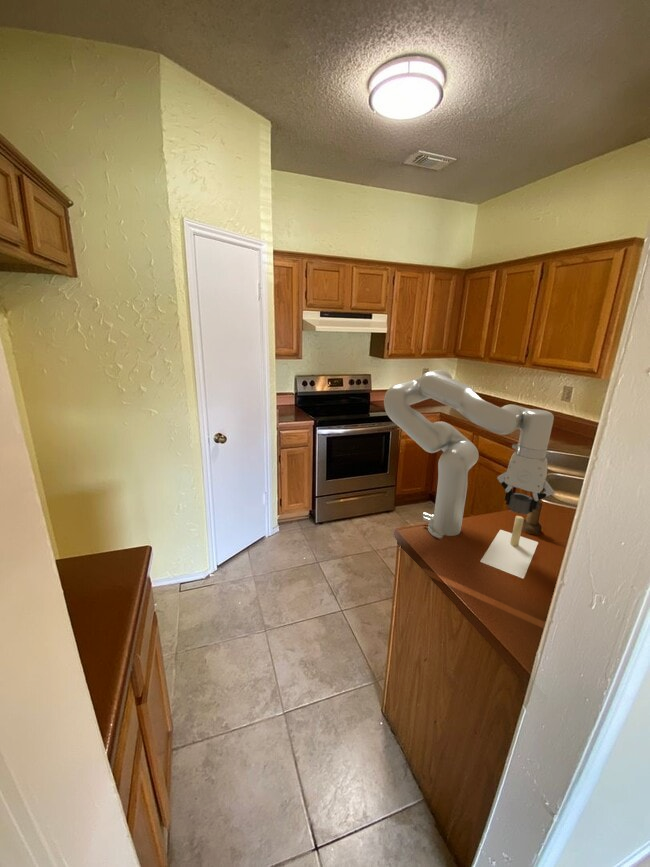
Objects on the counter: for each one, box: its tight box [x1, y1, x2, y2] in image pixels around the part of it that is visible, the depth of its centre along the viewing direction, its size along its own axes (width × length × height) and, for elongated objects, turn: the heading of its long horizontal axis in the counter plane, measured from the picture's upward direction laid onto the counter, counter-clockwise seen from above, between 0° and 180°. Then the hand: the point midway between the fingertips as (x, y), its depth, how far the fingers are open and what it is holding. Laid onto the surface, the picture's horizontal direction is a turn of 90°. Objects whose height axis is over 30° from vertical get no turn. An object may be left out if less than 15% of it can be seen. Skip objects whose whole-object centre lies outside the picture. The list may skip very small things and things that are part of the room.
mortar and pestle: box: [521, 488, 545, 536], centre depth 129 cm, size 7×6×18 cm
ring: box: [507, 492, 533, 515], centre depth 111 cm, size 6×6×4 cm
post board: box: [480, 515, 539, 579], centre depth 114 cm, size 12×24×12 cm, turn 141°
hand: (519, 506), depth 111 cm, fingers closed on ring, 6 cm apart
